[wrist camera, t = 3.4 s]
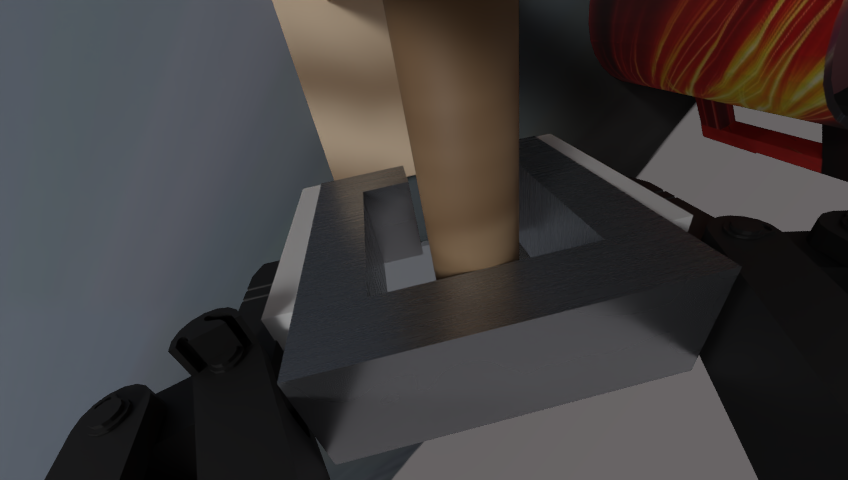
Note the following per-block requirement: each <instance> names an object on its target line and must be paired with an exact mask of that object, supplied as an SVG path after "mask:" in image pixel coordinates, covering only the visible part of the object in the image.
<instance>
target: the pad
mask: <svg viewBox="0 0 848 480" xmlns="http://www.w3.org/2000/svg"><path fill="white" fill-rule="evenodd" d="M421 246H422V250H423V254H422V255H418V256H413V257H409V258H405V259H401V260H397V261H392V262H388V263H384V265H385V274H386V283H387V291H388V292H390V291H395V290H399V289H403V288H407V287H411V286H415V285H419V284H424V283H428V282H432V281H436V277H435V272H434V266H433V261H432V256H431V251H430V245H429V240H428V241H423V242H421Z"/></svg>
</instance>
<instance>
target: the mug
mask: <svg viewBox="0 0 848 480" xmlns="http://www.w3.org/2000/svg"><path fill="white" fill-rule="evenodd" d="M589 32H590V40H591V43H592V47H593V50H594V53H595V56H596V57H597V59H598V61H599V62H600V64H601V66H602V67H603V68H604V69H605V70H606V71H607V72H608V73H609V74H610V75H612V76H613V77H615V78H617V79H619V80H621V81H625V82H629V83H634V84H639V85H643V86H648V87H652V88H657V89H662V90H666V91H671V92H676V93H680V94H685V95H689V96H694V97H695V99H696V103H697V107H698V111H699V115H700V120H701V126H702V132H703V136H704V137H707V138H710V139H713V140H716V141H719V142H722V143H725V144H728V145H731V146H734V147H737V148H740V149H744V150H747V151H750V152H753V153H760V154H763V155H766V156H769V157H772V158H775V159H778V160H781V161H785V162H788V163H791V164H794V165H797V166H800V167H804V168H806V169H809V170H812V171H816V172H819V173H822V174H825V175H828V176H831V177H834V178H837V179H840V180H843V181H846V182H848V0H590V5H589ZM733 105H736V106H741V107H745V108H749V109H754V110H759V111H763V112H768V113H773V114H778V115H782V116H787V117H792V118H796V119H800V120H805V121H809V122H814V123H819V124H822V143H819V142H815V141H811V140H807V139H803V138H799V137H796V136H791V135H788V134H784V133H780V132H776V131H772V130H768V129H764V128H761V127H756V126H753V125H749V124H745V123H741V122H737V121H735V115H734V109H733Z"/></svg>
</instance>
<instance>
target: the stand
mask: <svg viewBox="0 0 848 480" xmlns="http://www.w3.org/2000/svg"><path fill="white" fill-rule="evenodd" d="M272 1H273V4H274V7H275V10H276V13H277V16H278V19H279V22H280V24H281V27H282V30H283V33H284V36H285V39H286V42H287V45H288V48H289V51H290V53H291V56H292V59H293V62H294V65H295V68H296V71H297V74H298V77H299V79H300V82H301V85H302V88H303V91H304V94H305V97H306V100H307V103H308V106H309V108H310V111H311V114H312V117H313V120H314V123H315V126H316V129H317V132H318V134H319V137H320V140H321V143H322V146H323V149H324V152H325V155H326V158H327V161H328V163H329V166H330V169H331V172H332V175H333V178H334V181H335V180H340V179H344V178H349V177H353V176H357V175H362V174H366V173H371V172H375V171H380V170H384V169H389V168H393V167H398V166H402V165H403V167H404V171H405V174H406V177H408V176H412V175H416V178H417V183H418V188H419V193H420V198H421V204H422V209H423V214H424V219H425V225H426V230H427V235H428V240H429V245H430V251H431V256H432V261H433V266H434V272H435V277H436V280H440V279H444V278H448V277H452V276H457V275H461V274H465V273H469V272H473V271H477V270H481V269H486V268H490V267H494V266H498V265H502V264H506V263H510V262H514V261H519V0H272Z"/></svg>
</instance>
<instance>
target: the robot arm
mask: <svg viewBox="0 0 848 480" xmlns="http://www.w3.org/2000/svg"><path fill="white" fill-rule="evenodd" d="M537 138H539V139H540V140H542V141H543V142H545V143H547V144H548V145H550V146H551V147H553V148H555V149H556V150H558V151H559V152H561V153H563V154H564V155H566V156H567V157H569V158H570V159H572V160H574V161H575V162H577V163H578V164H580V165H582V166H583V167H585V168H586V169H588V170H589V171H591V172H593V173H594V174H596V175H597V176H599V177H601V178H602V179H604V180H605V181H607V182H609V183H610V184H612V185H613V186H615V187H616V188H618V189H620V190H621V191H623V192H624V193H626V194H628V195H629V196H631V197H632V198H634V199H635V200H637V201H639V202H640V203H642V204H643V205H645V206H647V207H648V208H650V209H651V210H653V211H655V212H656V213H658V214H659V215H661V216H662V217H664V218H666V219H667V220H669V221H670V222H672V223H674V224H675V225H677V226H678V227H680V228H681V229H683V230H685V231H686V232H688V233H689V234H691V235H693V236H694V237H696V238H697V239H699V240H701V241H702V242H704V243H705V244H707V245H708V246H710V247H712V248H713V249H715V250H716V251H718V252H720V253H721V254H723V255H724V256H726V257H727V258H729V259H731V260H732V261H734V262H735V263H737V264H739V265H740V266H742V268H741V270H740V272H739V274H738V276H737V278H736V280H735V282H734V284H733V286H732V288H731V290H730V292H729V294H728V296H727V299H726V301H725V303H724V305H723V307H722V309H721V311H720V313H719V315H718V317H717V319H716V321H715V323H714V325H713V327H712V329H711V331H710V333H709V335H708V337H707V339H706V341H705V343H704V345H703V347H702V349H701V351H700V353H699V355H700V357H701V360H702V362H703V364H704V366H705V368H706V370H707V372H708V374H709V376H710V379H711V381H712V382H713V385H714V387H715V389H716V391H717V393H718V395H719V397H720V400H721V402H722V404H723V406H724V408H725V410H726V412H727V414H728V416H729V419H730V421H731V423H732V425H733V427H734V429H735V431H736V433H737V435H738V438H739V439H740V442H741V444H742V446H743V448H744V450H745V452H746V454H747V456H748V459H749V460H750V463H751V465H752V467H753V469H754V471H755V473H756V475H757V478H758V480H848V210H847V211H831V212H827V213H823V214H822V215H821V216H820V217H819V218H818V219H817V221H816V223H815V225H814V226H813V228H812V230H811V231H798V232H797V231H796V232H781V231H780V230H779V229H777V228H776V227H774V226H773V225H771V224H769V223H766V222H763V221H761V220H758V219H753V218H748V217H742V216H721V217H717V218H714V217H712V216H710V215H709V214H707V213H705V212H703V211H701V210H699V209H698V208H696V207H694V206H692V205H690V204H688V203H686V202H685V201H683V200H681V199H679V198H675V197H674V195H672V194H670V193H668V192H666V191H665V192H663V190H662V189H661V188H659V187H657V186H655V185H653V184H652V183H650V182H646V181H643V180H639V179H636V178H632V177H630V178H627V177H625V176H624V175H622V174H620V173H618V172H617V171H615V170H613V169H611V168H610V167H608V166H606V165H604V164H603V163H601V162H599V161H597V160H596V159H594V158H592V157H590V156H589V155H587V154H585V153H583V152H582V151H580V150H578V149H576V148H575V147H573V146H571V145H569V144H568V143H566V142H564V141H562V140H561V139H559V138H557V137H555V136H554V135H552V134H546V135H541V136H537ZM320 187H321V185H318V186H313V187H309V188H304V189H303V191H302V194H301V197H300V200H299V203H298V206H297V209H296V213H295V216H294V219H293V222H292V225H291V228H290V231H289V234H288V237H287V241H286V244H285V247H284V250H283V253H282V256H281V259H280V261H275V262H271V263H267V264H264V265H263V266H262V267H261V268H260V269H259V270H258V271H257V272H256V273H255V275H254V276H253V277H252V279H251V282H250V284H249V287H248V291H247V292H246V294H245V296H244V299H243V300H244V302H242V304H241V306H240V309H239V311H237V310H236V309H233V308H229V307H227V308H219V309H215V310H212V311H209V312H207V313H204V314H202V315H201V316H199V317H197V318H195V319H194V320H192V321H191V322H189V323H188V324H187V325H186V326H185V327H184V328H182V329H181V330H180V331H179V332H178V334H177V335H176V336H175V337H174V339H173V340H172V341H171V344H170V347H169V351H168V352H169V353H170V354H171V355H172V356H173V357H174V358H175V359H176V360H177V361H178V362H179V363H180V364H181V365H182V366H183V367H184V368H185V369H186V370H187V371H188V372H189V374H190V375H191V377H189V378H187V379H185V380H183V381H181V382H179V383H177V384H175V385H173V386H171V387H169V388H167V389H165V390H163V391H161V392H159V393H157V394H155V393H154V392H153V391H151V390H150V389H149V388H148V387H147V386H146V385H140V384H134V385H130V386H125V387H123V388H121V389H119V390H117V391H115V392H112V393H110V394H109V395H107V396H106V397H104V398H103V399H102V400H100V401H98V402H97V403H96V404H95V405H93V406H92V407H91V408H90V409H89V410H88V411H87V412H86V413H85V414H84V415H83V416H82V417H81V418H80V419H79V421H78V422H77V424H76V425H75V426H74V428H73V429H72V431H71V432H70V434H69V436H68V438H67V439H66V441H65V443H64V445H63V447H62V449H61V450H60V452H59V454H58V456H57V458H56V460H55V461H54V463H53V465H52V467H51V469H50V471H49V472H48V474H47V476H46V478H45V480H330V477H329V474H328V472H327V469H326V466H325V463H324V461H323V458H322V455H321V452H320V449H319V447H318V444H317V441H316V438H315V436H314V434H313V433H312V431H311V430H310V429H309V427H308V426H307V424H306V423H305V422H304V420H303V419H302V418H301V416H300V415H299V413H298V412H297V411H296V409H295V408H294V407H293V405H292V404H291V402H290V401H289V400H288V398H287V397H286V396H285V394H284V393H283V391H282V390H281V389H280V387H279V386H278V385H277V381H278V377H279V372H280V368H281V363H282V359H283V354H284V349H285V345H286V340H287V336H288V331H289V327H290V322H291V318H292V313H293V309H294V304H295V300H296V295H297V291H298V286H299V282H300V277H301V273H302V268H303V264H304V259H305V254H306V250H307V245H308V241H309V236H310V232H311V227H312V223H313V218H314V214H315V209H316V205H317V200H318V196H319V191H320Z"/></svg>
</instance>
